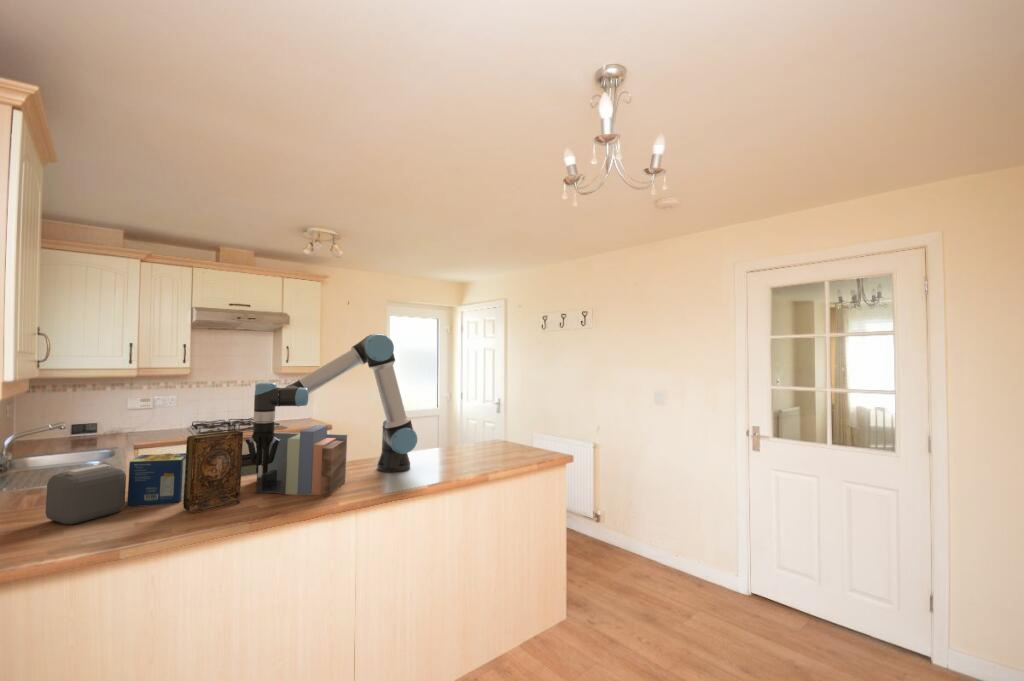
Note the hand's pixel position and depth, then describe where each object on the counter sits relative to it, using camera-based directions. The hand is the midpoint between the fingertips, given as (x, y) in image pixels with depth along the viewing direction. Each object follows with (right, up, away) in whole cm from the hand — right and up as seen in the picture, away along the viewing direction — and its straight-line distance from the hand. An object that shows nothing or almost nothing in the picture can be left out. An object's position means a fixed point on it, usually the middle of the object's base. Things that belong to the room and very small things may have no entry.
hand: (261, 481), depth 184 cm
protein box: (-27, -2, -19) cm, 32 cm away
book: (-4, -2, -23) cm, 23 cm away
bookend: (+7, -3, 0) cm, 7 cm away
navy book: (+20, -3, +1) cm, 20 cm away
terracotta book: (+24, -3, +1) cm, 24 cm away
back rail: (+11, -3, +10) cm, 15 cm away
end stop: (+28, -4, +1) cm, 28 cm away
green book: (+15, -3, +1) cm, 15 cm away
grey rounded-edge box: (-36, -1, -36) cm, 51 cm away
